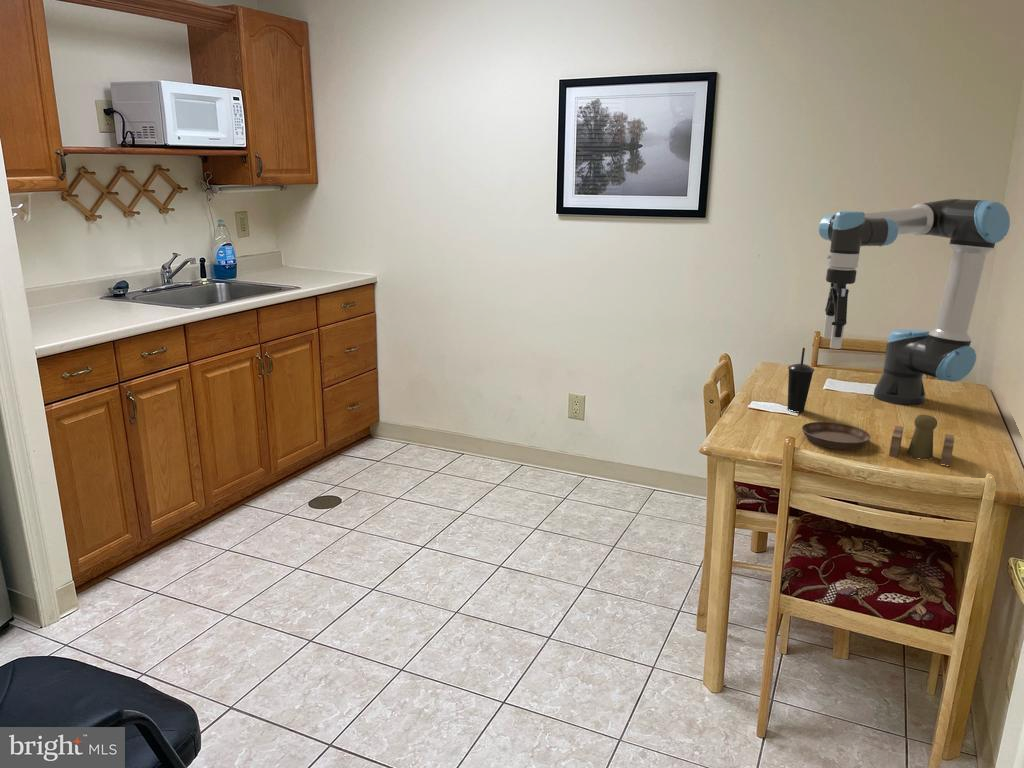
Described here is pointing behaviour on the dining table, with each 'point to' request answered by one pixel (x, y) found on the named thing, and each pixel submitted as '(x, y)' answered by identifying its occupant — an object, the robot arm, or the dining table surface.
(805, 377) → the drinking cup
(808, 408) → the dining table surface
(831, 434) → the plant saucer
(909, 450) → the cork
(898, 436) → the wooden bookends
